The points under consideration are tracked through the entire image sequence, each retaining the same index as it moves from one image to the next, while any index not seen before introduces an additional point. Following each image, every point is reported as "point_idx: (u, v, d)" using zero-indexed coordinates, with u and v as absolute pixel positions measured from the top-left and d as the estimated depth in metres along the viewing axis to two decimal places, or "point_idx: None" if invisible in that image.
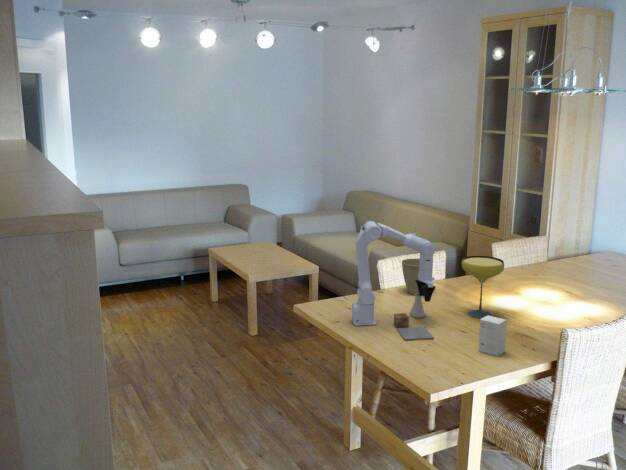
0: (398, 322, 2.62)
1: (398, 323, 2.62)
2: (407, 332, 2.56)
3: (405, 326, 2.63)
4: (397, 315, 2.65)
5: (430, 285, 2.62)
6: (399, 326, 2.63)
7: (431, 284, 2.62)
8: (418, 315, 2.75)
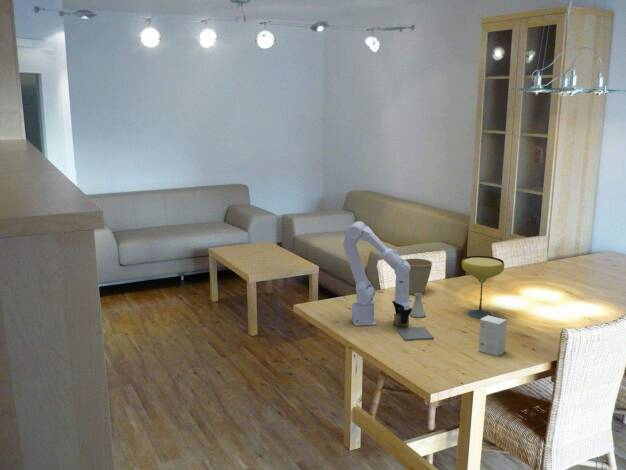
0: (398, 322, 2.62)
1: (398, 323, 2.62)
2: (407, 332, 2.56)
3: (405, 326, 2.63)
4: (397, 315, 2.65)
5: (406, 307, 2.56)
6: (399, 326, 2.63)
7: (407, 306, 2.56)
8: (418, 315, 2.75)
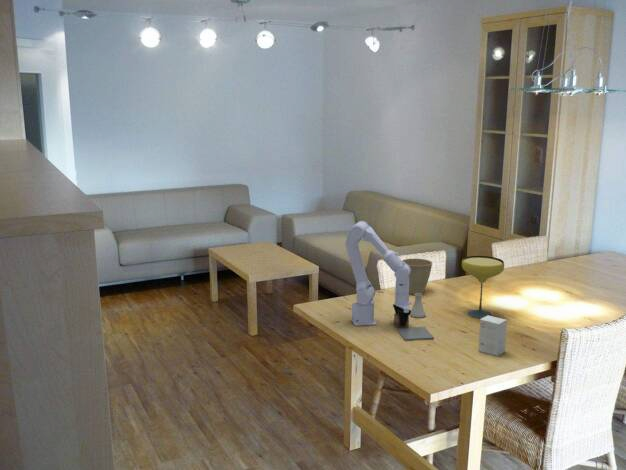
0: (398, 322, 2.62)
1: (398, 323, 2.62)
2: (407, 332, 2.56)
3: (405, 326, 2.63)
4: (397, 315, 2.65)
5: (406, 310, 2.56)
6: (399, 326, 2.63)
7: (407, 309, 2.56)
8: (418, 315, 2.75)
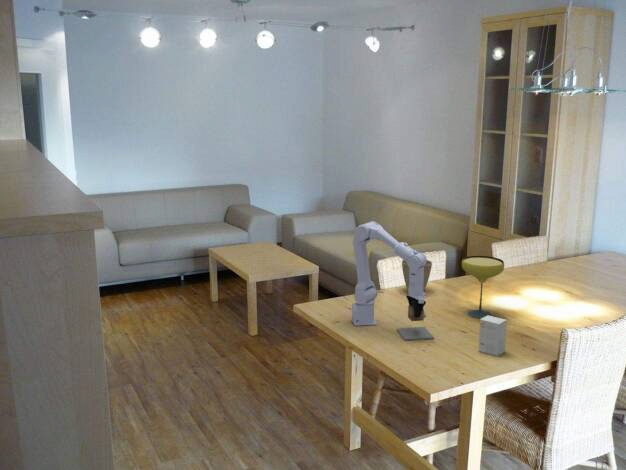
0: (413, 314, 2.52)
1: (413, 315, 2.52)
2: (407, 332, 2.56)
3: (420, 318, 2.53)
4: (411, 307, 2.54)
5: (421, 301, 2.46)
6: (414, 318, 2.52)
7: (422, 300, 2.46)
8: None
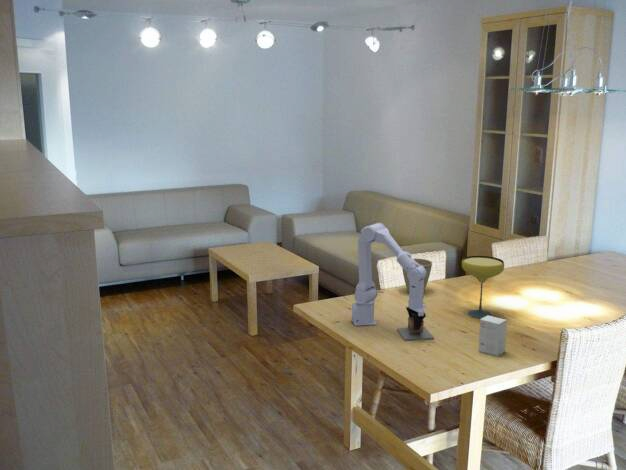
0: (412, 326, 2.53)
1: (412, 327, 2.53)
2: (407, 332, 2.56)
3: (420, 330, 2.54)
4: (411, 319, 2.55)
5: (420, 313, 2.47)
6: (413, 330, 2.53)
7: (422, 312, 2.47)
8: None
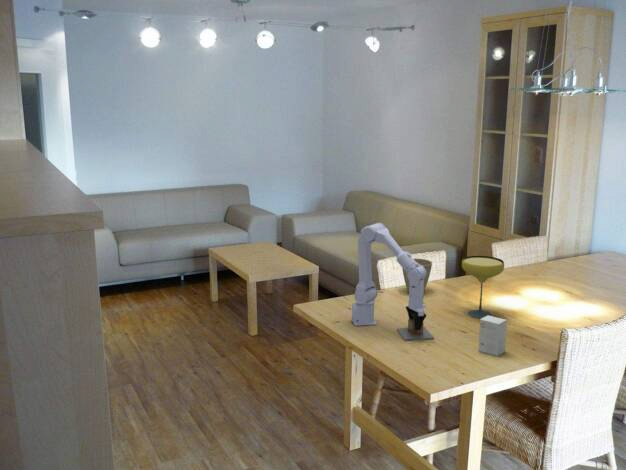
0: (412, 328, 2.53)
1: (412, 329, 2.53)
2: (407, 332, 2.56)
3: (419, 332, 2.54)
4: (411, 321, 2.55)
5: (420, 313, 2.47)
6: (413, 332, 2.53)
7: (422, 312, 2.47)
8: None
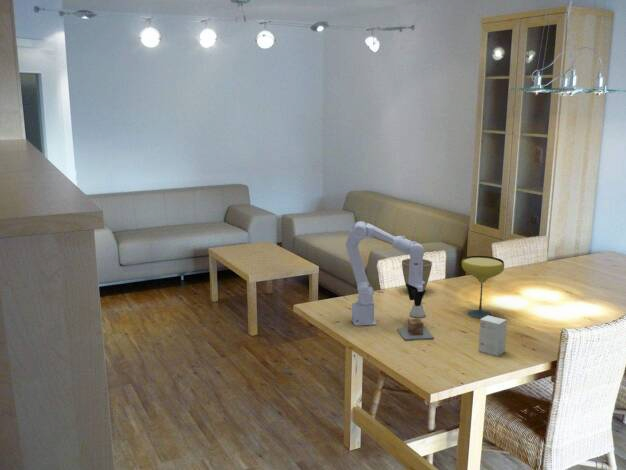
0: (412, 328, 2.53)
1: (412, 329, 2.53)
2: (407, 332, 2.56)
3: (419, 332, 2.54)
4: (411, 321, 2.55)
5: (420, 289, 2.56)
6: (413, 332, 2.53)
7: (421, 288, 2.56)
8: (418, 315, 2.75)
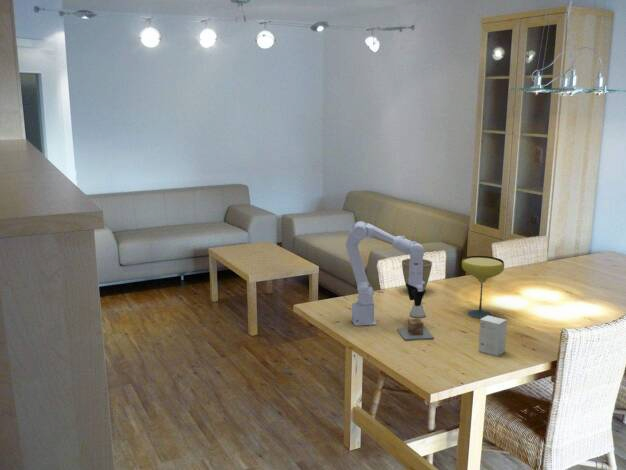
0: (412, 328, 2.53)
1: (412, 329, 2.53)
2: (407, 332, 2.56)
3: (419, 332, 2.54)
4: (411, 321, 2.55)
5: (420, 289, 2.56)
6: (413, 332, 2.53)
7: (421, 288, 2.56)
8: (418, 315, 2.75)
